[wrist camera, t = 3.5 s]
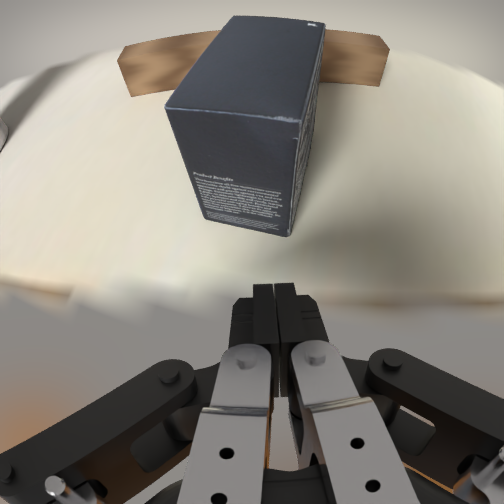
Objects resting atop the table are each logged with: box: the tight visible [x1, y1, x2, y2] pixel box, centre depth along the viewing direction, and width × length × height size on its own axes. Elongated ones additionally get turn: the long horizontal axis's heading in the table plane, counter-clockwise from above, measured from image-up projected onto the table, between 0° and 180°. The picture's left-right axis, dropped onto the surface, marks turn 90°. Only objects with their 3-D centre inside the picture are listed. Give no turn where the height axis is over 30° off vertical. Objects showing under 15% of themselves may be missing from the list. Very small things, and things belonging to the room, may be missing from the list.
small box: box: [164, 16, 325, 237], centre depth 18 cm, size 11×6×10 cm, turn 165°
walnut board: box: [117, 29, 390, 97], centre depth 25 cm, size 26×3×5 cm, turn 92°
